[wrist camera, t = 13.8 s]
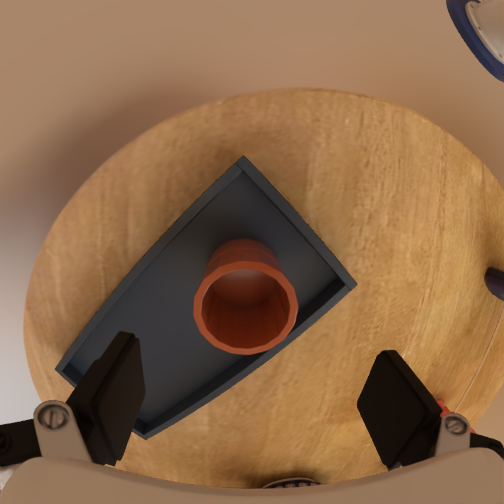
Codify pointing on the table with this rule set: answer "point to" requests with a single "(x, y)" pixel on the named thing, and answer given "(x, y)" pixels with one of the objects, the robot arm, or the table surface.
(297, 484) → the teapot
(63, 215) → the table surface
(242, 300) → the flower pot
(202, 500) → the robot arm
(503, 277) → the flask
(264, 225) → the tray
